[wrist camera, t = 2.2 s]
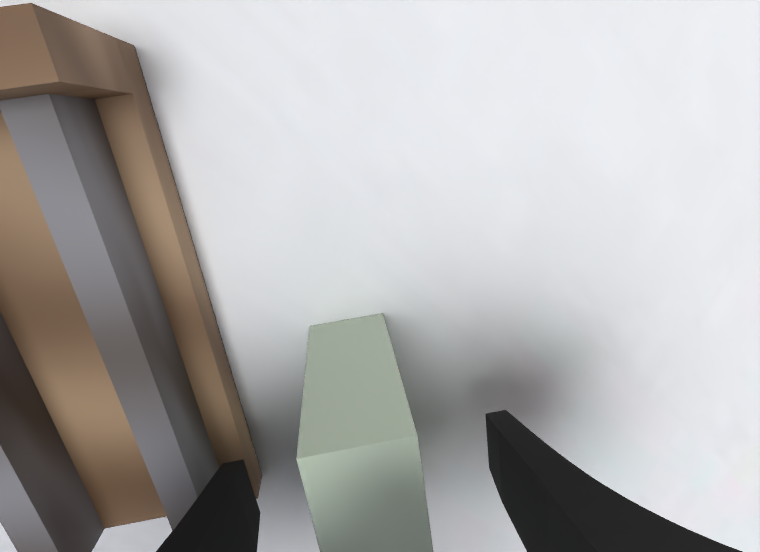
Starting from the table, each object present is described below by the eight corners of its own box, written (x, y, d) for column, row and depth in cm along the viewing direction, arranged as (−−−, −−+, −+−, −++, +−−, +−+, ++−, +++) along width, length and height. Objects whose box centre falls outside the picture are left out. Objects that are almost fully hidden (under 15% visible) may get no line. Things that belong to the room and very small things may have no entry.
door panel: (407, 477, 17) (447, 660, 11) (345, 490, 16) (354, 681, 11) (382, 312, 14) (417, 435, 9) (309, 325, 14) (296, 459, 8)
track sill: (262, 475, 16) (240, 586, 12) (63, 514, 15) (-24, 641, 11) (133, 45, 11) (30, 2, 7) (-158, 85, 11) (-429, 62, 7)
